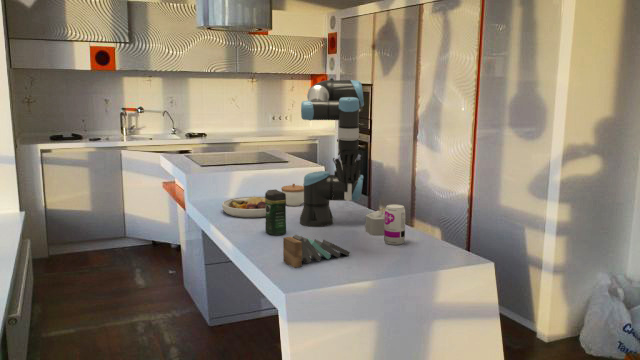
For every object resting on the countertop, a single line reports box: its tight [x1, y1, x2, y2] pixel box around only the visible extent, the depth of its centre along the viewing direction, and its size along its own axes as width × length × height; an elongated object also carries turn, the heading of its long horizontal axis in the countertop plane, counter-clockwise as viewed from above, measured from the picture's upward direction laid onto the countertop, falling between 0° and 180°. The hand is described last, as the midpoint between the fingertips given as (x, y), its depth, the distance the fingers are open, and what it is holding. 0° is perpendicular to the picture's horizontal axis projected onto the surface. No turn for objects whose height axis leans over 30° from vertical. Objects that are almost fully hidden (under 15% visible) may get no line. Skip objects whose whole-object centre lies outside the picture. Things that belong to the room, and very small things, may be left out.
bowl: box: [221, 195, 266, 219], centre depth 298 cm, size 30×30×8 cm
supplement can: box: [383, 203, 406, 246], centre depth 244 cm, size 8×8×15 cm
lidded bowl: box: [280, 183, 304, 207], centre depth 314 cm, size 13×13×11 cm
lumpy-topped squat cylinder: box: [365, 210, 385, 236], centre depth 261 cm, size 10×13×9 cm
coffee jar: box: [264, 189, 287, 236], centre depth 258 cm, size 10×8×19 cm
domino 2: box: [299, 235, 322, 262], centre depth 221 cm, size 2×5×10 cm
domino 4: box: [313, 239, 341, 259], centre depth 225 cm, size 2×5×10 cm
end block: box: [282, 236, 303, 268], centre depth 217 cm, size 3×8×9 cm, turn 32°
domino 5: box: [321, 239, 351, 257], centre depth 227 cm, size 2×5×10 cm
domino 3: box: [306, 237, 332, 261], centre depth 223 cm, size 2×5×10 cm
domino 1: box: [292, 234, 312, 264], centre depth 219 cm, size 2×5×10 cm, turn 31°
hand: (347, 199), depth 234 cm, fingers closed
